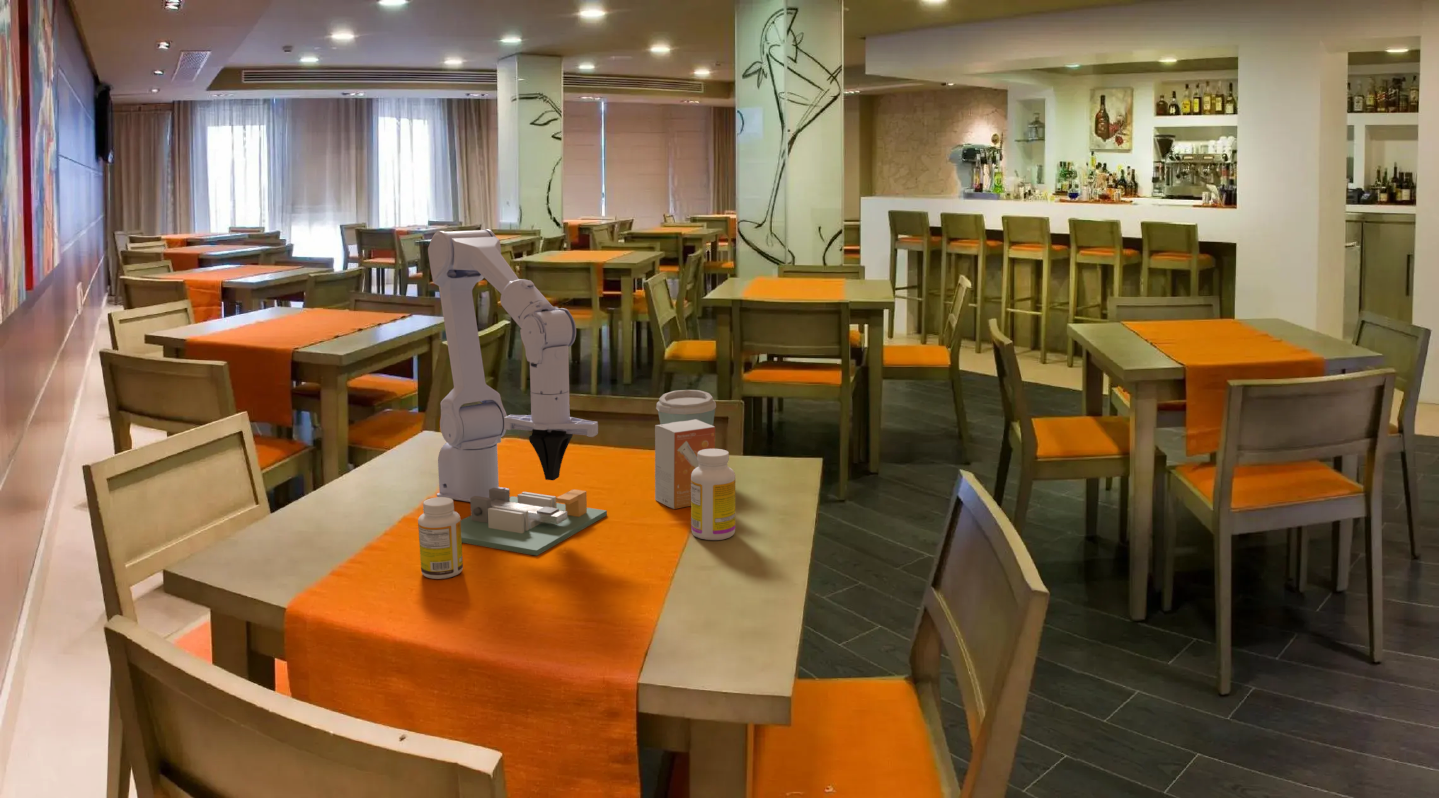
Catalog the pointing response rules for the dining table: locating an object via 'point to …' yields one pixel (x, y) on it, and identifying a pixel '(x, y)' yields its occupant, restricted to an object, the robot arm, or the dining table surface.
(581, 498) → the lug slider
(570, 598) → the dining table surface
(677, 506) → the small box
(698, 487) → the supplement bottle
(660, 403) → the disposable coffee cup
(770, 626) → the dining table surface
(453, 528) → the supplement bottle
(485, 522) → the socket base
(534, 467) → the dining table surface
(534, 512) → the white stepped bar
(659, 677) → the dining table surface
